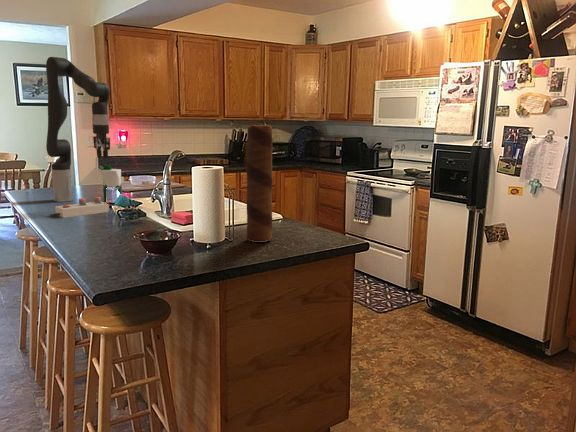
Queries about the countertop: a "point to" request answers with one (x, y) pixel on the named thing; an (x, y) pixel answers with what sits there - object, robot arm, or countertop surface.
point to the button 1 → (66, 206)
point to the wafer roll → (259, 182)
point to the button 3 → (97, 199)
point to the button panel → (81, 209)
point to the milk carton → (111, 179)
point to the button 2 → (82, 201)
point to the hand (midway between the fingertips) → (102, 157)
